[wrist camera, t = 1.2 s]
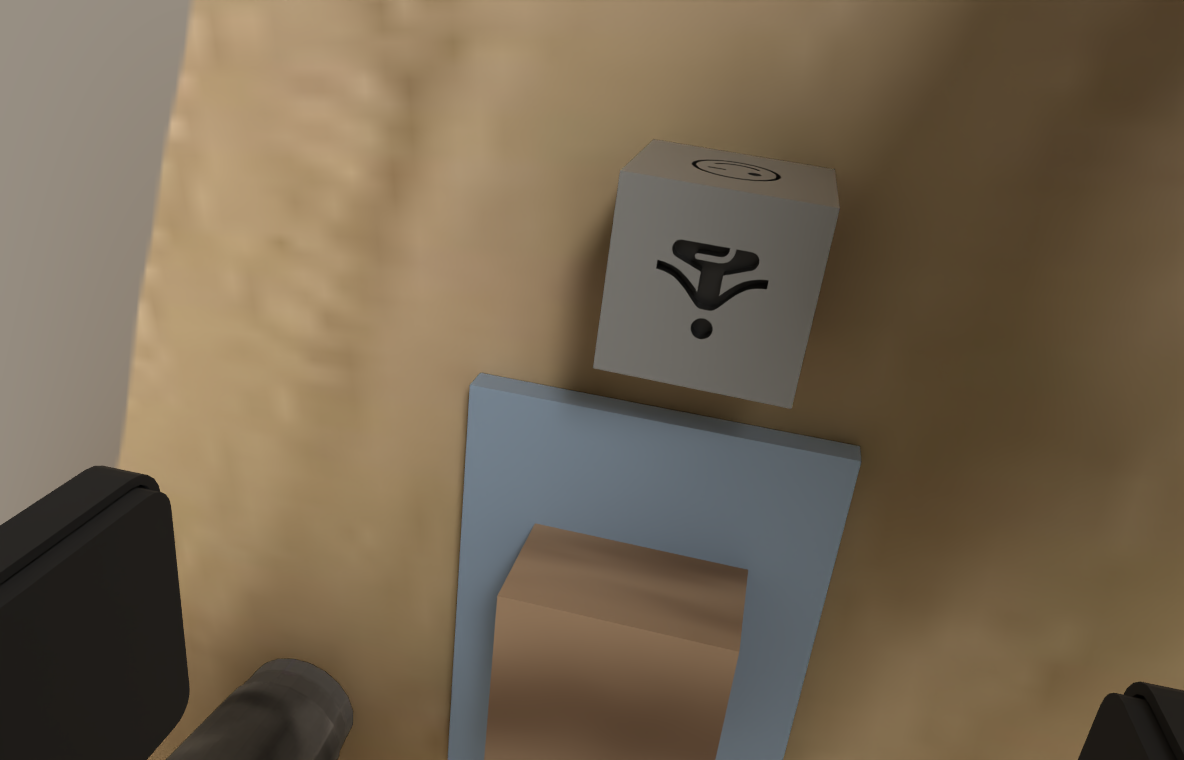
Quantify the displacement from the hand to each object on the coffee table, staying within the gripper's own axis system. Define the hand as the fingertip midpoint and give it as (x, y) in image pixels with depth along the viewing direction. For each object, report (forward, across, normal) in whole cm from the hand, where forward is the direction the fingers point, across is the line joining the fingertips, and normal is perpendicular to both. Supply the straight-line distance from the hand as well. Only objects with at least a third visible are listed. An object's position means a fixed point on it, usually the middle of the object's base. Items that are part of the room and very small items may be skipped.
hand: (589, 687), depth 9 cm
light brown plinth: (+18, +1, +14) cm, 22 cm away
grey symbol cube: (+19, 0, 0) cm, 19 cm away
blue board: (+19, +1, +14) cm, 23 cm away
